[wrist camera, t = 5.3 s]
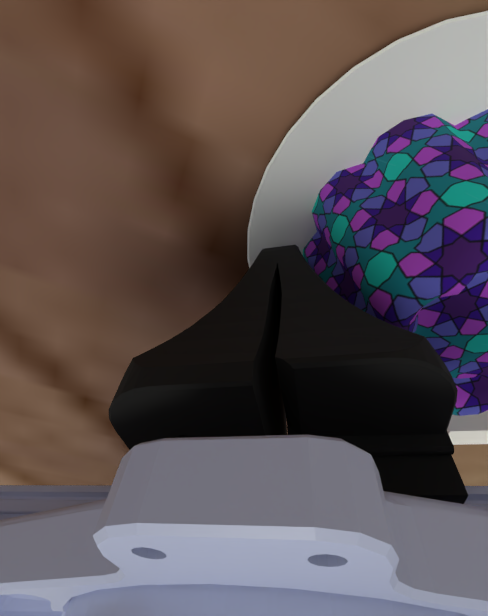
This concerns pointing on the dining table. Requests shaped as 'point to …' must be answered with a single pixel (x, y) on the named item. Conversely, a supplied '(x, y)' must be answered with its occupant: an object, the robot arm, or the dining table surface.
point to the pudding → (397, 193)
